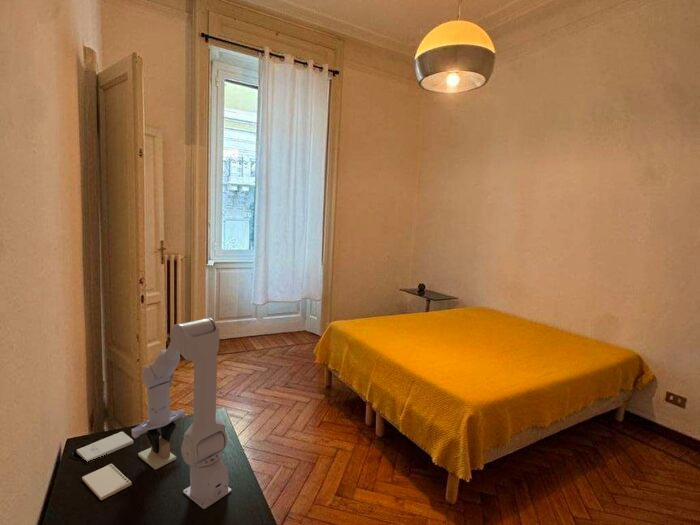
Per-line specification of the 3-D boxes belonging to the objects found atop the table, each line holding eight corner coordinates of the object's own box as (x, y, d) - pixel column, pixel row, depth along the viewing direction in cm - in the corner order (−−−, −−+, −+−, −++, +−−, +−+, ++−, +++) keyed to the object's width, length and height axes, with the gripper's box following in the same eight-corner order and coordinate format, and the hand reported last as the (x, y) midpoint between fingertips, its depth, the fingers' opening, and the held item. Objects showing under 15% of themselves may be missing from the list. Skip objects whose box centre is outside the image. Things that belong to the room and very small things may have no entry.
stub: (176, 459, 108) (175, 443, 107) (155, 469, 103) (154, 453, 102) (158, 446, 114) (158, 431, 113) (138, 455, 109) (137, 439, 108)
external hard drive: (133, 445, 115) (86, 465, 105) (121, 435, 120) (76, 454, 110) (133, 440, 115) (86, 459, 105) (121, 430, 120) (76, 448, 110)
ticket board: (131, 484, 97) (131, 481, 97) (101, 500, 91) (100, 497, 91) (111, 466, 104) (111, 463, 104) (82, 479, 98) (82, 476, 98)
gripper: (176, 392, 116) (177, 433, 117) (125, 410, 104) (127, 456, 105) (188, 399, 112) (189, 442, 113) (137, 418, 100) (139, 466, 101)
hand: (160, 449), depth 109 cm, fingers closed on stub, 2 cm apart
